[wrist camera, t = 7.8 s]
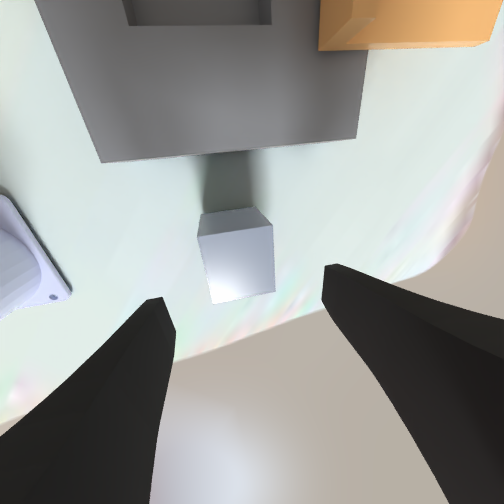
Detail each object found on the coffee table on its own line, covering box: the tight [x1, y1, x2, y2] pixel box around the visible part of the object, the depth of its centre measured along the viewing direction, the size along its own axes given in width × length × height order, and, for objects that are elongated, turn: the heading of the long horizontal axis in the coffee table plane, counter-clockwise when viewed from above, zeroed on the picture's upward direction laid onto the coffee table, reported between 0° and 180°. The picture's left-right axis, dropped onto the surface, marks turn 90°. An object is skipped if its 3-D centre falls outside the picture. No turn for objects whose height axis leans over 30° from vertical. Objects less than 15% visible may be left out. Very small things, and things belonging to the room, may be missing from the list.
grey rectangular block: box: [197, 207, 276, 304], centre depth 13 cm, size 4×4×5 cm
